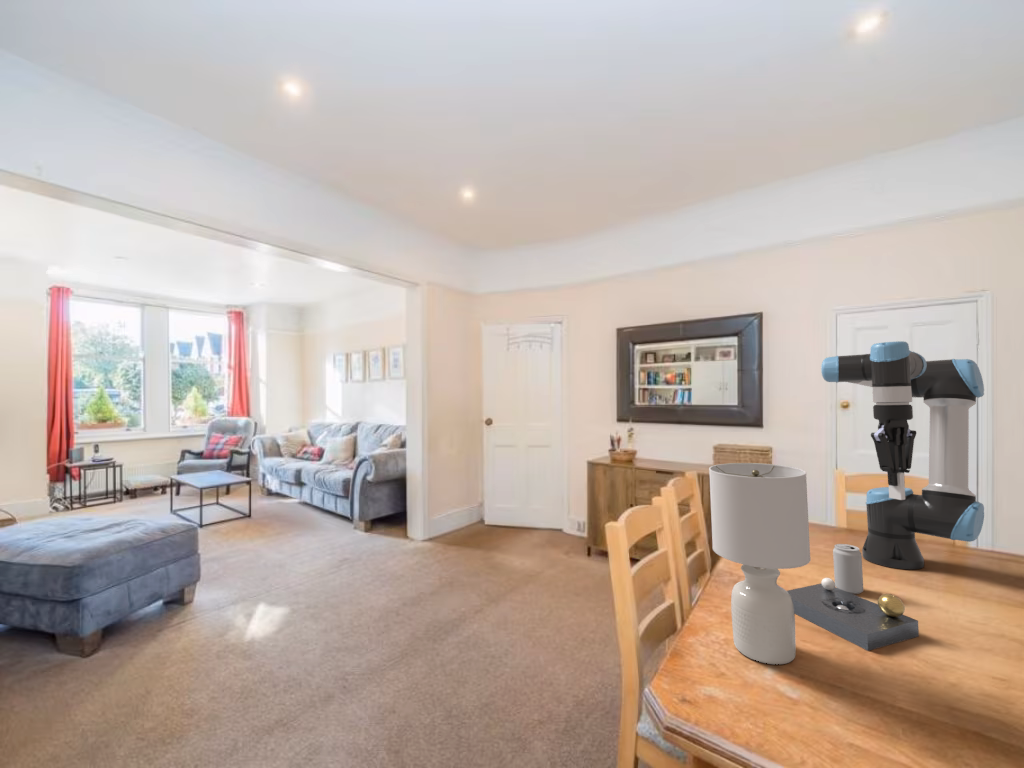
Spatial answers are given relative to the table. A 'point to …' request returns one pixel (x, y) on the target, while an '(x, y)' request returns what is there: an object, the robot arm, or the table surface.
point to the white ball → (828, 583)
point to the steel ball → (842, 607)
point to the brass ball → (891, 605)
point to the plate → (851, 617)
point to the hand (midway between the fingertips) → (897, 498)
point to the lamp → (761, 550)
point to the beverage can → (848, 568)
